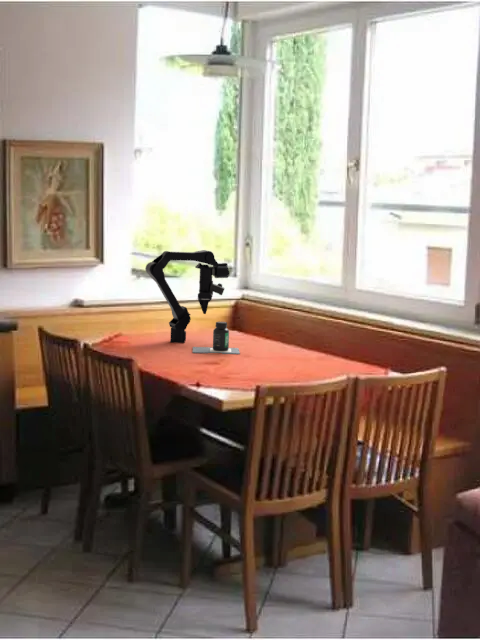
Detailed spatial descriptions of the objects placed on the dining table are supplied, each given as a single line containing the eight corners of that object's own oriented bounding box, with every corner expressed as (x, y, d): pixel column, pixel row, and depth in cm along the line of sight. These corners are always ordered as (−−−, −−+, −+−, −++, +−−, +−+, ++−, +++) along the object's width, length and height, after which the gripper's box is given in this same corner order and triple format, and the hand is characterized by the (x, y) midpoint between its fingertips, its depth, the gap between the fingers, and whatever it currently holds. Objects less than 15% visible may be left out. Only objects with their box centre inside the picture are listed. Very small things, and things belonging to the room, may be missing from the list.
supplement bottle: (230, 351, 405) (231, 323, 404) (215, 351, 403) (216, 323, 401) (225, 348, 412) (226, 321, 410) (210, 348, 410) (211, 321, 408)
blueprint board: (192, 353, 401) (192, 351, 401) (192, 347, 413) (192, 346, 413) (239, 354, 402) (239, 353, 401) (238, 348, 414) (238, 347, 414)
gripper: (223, 281, 419) (222, 315, 421) (224, 276, 437) (223, 310, 439) (198, 280, 419) (197, 315, 421) (200, 276, 437) (199, 309, 439)
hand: (205, 312), depth 430 cm, fingers open, 9 cm apart
